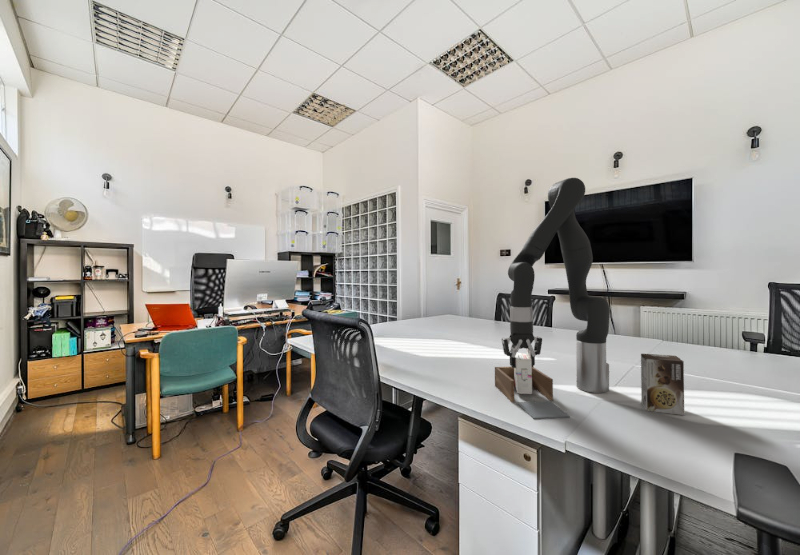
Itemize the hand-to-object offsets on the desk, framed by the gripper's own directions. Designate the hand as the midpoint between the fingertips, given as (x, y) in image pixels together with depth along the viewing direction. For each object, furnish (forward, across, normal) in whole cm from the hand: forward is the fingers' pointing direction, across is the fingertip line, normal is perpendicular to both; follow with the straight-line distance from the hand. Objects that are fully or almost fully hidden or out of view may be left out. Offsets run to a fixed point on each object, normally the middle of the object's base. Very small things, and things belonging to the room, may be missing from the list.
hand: (522, 366), depth 112 cm
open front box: (+9, 0, 0) cm, 9 cm away
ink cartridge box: (+8, 0, 0) cm, 8 cm away
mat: (+9, 0, +14) cm, 17 cm away
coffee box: (+10, -36, +17) cm, 41 cm away
